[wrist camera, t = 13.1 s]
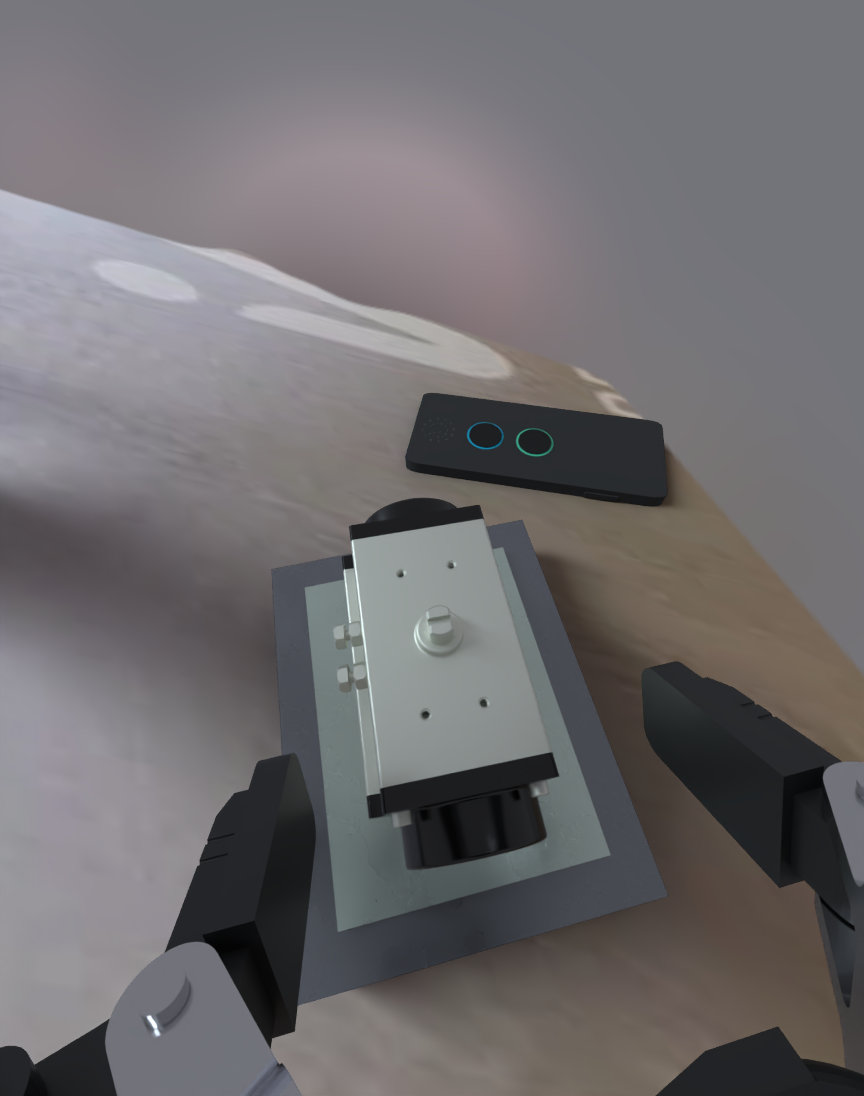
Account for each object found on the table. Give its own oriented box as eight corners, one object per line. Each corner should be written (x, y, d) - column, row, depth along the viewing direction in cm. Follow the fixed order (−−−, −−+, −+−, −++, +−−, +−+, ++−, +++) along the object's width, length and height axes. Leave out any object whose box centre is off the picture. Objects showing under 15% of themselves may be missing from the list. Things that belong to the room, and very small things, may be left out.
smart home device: (424, 388, 40) (662, 419, 38) (424, 404, 41) (654, 434, 39) (403, 461, 36) (669, 499, 34) (404, 475, 37) (659, 513, 35)
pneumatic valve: (458, 594, 26) (472, 452, 16) (514, 828, 21) (593, 843, 10) (362, 611, 26) (313, 476, 16) (392, 855, 20) (346, 900, 10)
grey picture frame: (289, 596, 32) (268, 564, 28) (513, 550, 33) (523, 514, 29) (318, 975, 22) (292, 1011, 18) (634, 883, 23) (674, 898, 19)
